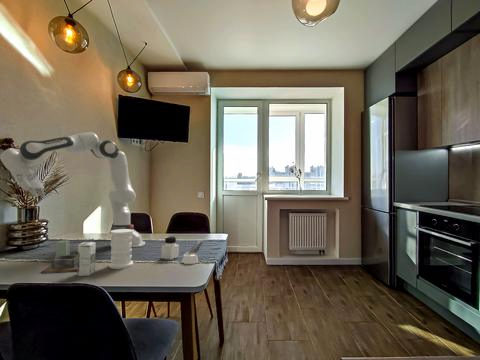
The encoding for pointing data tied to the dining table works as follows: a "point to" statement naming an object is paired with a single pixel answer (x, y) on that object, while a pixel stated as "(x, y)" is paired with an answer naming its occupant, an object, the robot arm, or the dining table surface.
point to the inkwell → (192, 254)
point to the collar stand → (63, 264)
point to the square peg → (62, 248)
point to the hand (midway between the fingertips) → (40, 196)
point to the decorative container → (121, 249)
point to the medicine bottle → (170, 248)
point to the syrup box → (86, 259)
